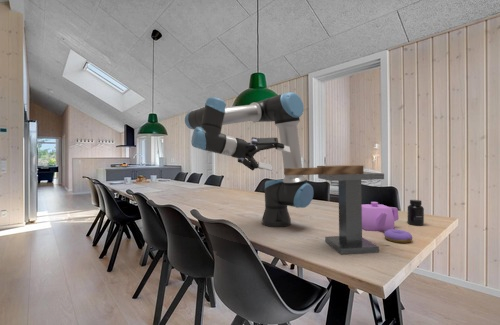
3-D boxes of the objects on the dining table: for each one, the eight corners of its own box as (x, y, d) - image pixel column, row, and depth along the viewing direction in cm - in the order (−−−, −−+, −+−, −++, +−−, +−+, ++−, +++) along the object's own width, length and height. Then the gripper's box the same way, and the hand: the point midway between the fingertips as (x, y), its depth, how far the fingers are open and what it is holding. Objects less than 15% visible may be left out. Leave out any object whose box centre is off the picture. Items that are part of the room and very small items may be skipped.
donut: (381, 240, 101) (382, 228, 102) (386, 239, 108) (386, 227, 109) (410, 245, 95) (410, 232, 95) (413, 243, 102) (414, 231, 102)
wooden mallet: (288, 175, 88) (288, 167, 88) (282, 174, 97) (282, 166, 97) (363, 173, 91) (363, 165, 91) (351, 172, 100) (350, 165, 100)
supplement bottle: (419, 226, 120) (418, 201, 120) (404, 223, 126) (404, 200, 126) (426, 224, 123) (426, 200, 123) (412, 221, 129) (412, 198, 129)
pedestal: (333, 255, 87) (332, 175, 87) (318, 241, 101) (317, 173, 101) (386, 251, 89) (385, 173, 89) (364, 239, 103) (364, 171, 103)
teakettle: (400, 227, 120) (400, 201, 120) (386, 235, 109) (385, 206, 109) (365, 221, 133) (364, 198, 133) (349, 227, 122) (348, 202, 122)
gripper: (220, 171, 101) (265, 181, 110) (248, 134, 83) (299, 149, 92) (221, 156, 105) (264, 167, 114) (247, 118, 88) (296, 134, 96)
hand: (280, 159), depth 103 cm, fingers open, 13 cm apart
